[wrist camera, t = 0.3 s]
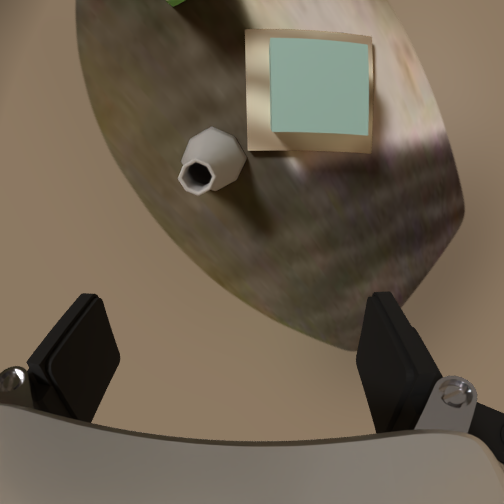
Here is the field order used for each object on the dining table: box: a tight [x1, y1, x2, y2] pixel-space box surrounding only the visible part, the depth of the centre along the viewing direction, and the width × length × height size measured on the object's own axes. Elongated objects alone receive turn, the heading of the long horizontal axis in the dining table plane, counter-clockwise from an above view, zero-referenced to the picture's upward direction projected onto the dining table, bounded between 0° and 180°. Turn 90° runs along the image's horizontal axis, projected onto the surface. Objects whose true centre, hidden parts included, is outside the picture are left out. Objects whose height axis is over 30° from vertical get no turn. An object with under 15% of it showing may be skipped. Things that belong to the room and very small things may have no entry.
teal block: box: [269, 38, 369, 136], centre depth 28 cm, size 9×9×6 cm
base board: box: [245, 29, 373, 154], centre depth 31 cm, size 14×14×1 cm
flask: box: [178, 127, 247, 196], centre depth 31 cm, size 7×7×10 cm
